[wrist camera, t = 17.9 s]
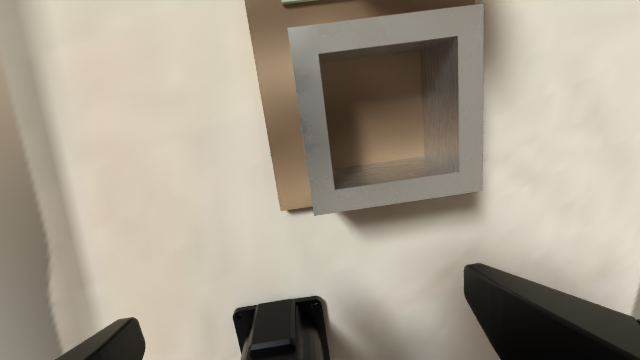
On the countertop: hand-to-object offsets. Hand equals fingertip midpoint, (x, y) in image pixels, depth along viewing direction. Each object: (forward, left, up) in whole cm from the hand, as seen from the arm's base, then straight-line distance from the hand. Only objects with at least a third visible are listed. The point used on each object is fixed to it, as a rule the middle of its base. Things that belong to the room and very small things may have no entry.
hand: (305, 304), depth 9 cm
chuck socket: (+4, -5, -13) cm, 14 cm away
